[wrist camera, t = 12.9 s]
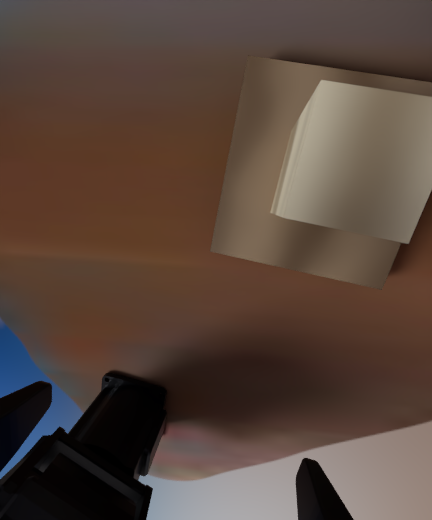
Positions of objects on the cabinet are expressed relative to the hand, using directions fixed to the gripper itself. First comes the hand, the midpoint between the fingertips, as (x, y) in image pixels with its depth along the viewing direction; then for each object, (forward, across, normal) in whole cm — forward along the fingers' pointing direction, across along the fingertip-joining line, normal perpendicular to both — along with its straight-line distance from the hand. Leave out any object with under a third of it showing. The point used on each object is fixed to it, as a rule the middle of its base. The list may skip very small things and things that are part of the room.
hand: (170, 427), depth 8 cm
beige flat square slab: (+12, -5, -10) cm, 16 cm away
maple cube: (+10, -5, -10) cm, 15 cm away
